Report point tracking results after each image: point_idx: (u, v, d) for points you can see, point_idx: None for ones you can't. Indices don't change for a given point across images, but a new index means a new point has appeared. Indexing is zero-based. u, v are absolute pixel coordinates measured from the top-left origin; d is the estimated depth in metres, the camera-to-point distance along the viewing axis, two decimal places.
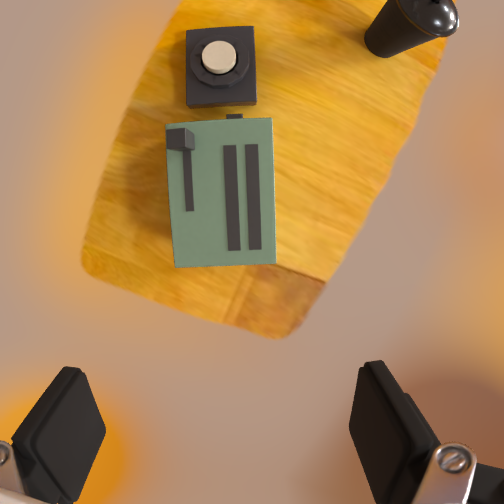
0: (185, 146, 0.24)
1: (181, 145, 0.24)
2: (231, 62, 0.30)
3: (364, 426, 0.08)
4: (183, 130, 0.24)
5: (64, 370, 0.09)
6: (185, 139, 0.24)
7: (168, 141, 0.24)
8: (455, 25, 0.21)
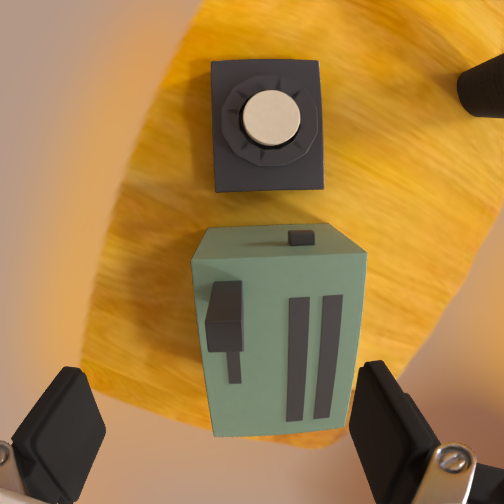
0: (242, 350, 0.14)
1: (235, 349, 0.14)
2: (293, 132, 0.19)
3: (364, 426, 0.08)
4: (238, 325, 0.13)
5: (64, 370, 0.09)
6: (242, 339, 0.14)
7: (210, 341, 0.13)
8: None
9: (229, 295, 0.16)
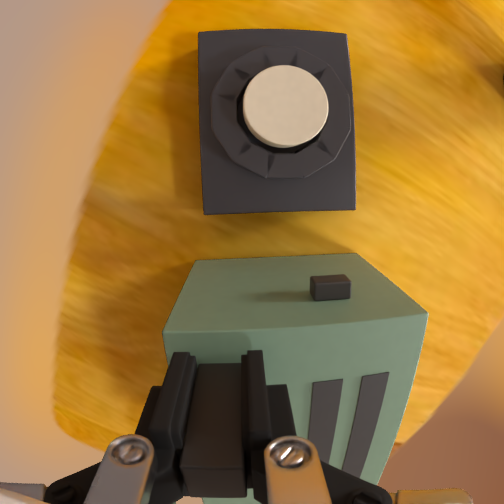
0: (244, 495, 0.07)
1: (233, 496, 0.07)
2: (319, 127, 0.13)
3: None
4: (237, 473, 0.06)
5: (176, 355, 0.10)
6: (244, 485, 0.07)
7: (191, 487, 0.07)
8: None
9: (221, 401, 0.09)
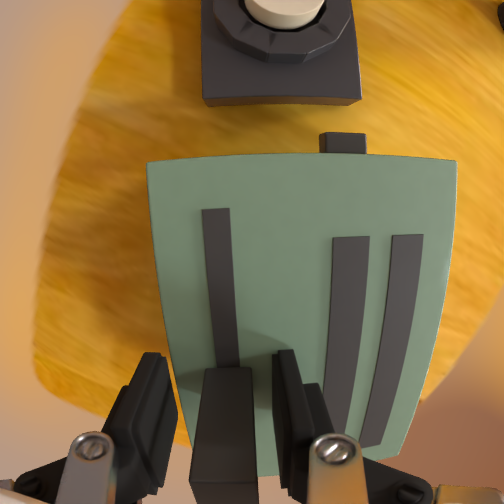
0: None
1: None
2: (319, 2, 0.10)
3: (275, 411, 0.10)
4: (250, 487, 0.06)
5: (146, 355, 0.10)
6: (256, 498, 0.06)
7: (201, 500, 0.06)
8: None
9: (231, 409, 0.08)
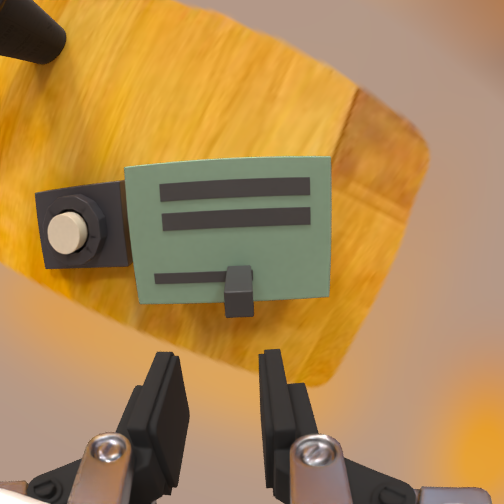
0: (251, 291, 0.18)
1: (250, 297, 0.18)
2: (70, 218, 0.25)
3: (261, 411, 0.10)
4: (228, 294, 0.18)
5: (159, 355, 0.10)
6: (241, 291, 0.18)
7: (243, 314, 0.18)
8: None
9: None
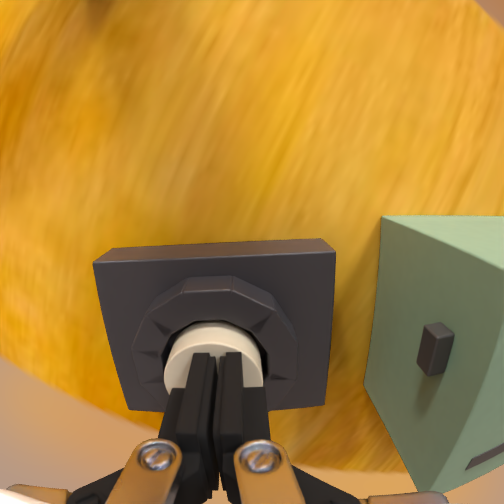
0: None
1: None
2: None
3: None
4: None
5: (196, 356, 0.10)
6: None
7: None
8: None
9: None
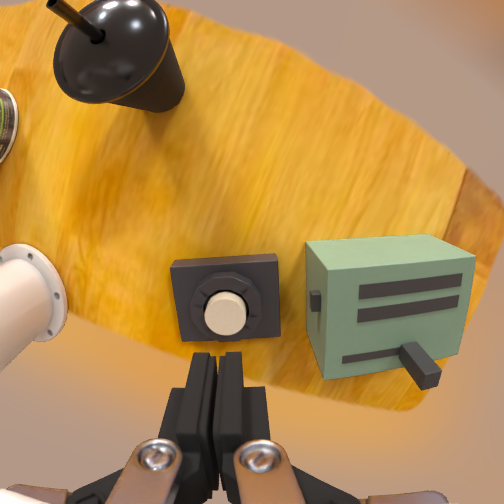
0: (441, 370, 0.20)
1: (439, 374, 0.20)
2: (235, 303, 0.27)
3: None
4: (427, 376, 0.20)
5: (196, 356, 0.10)
6: (435, 372, 0.20)
7: (432, 386, 0.20)
8: None
9: (410, 363, 0.23)
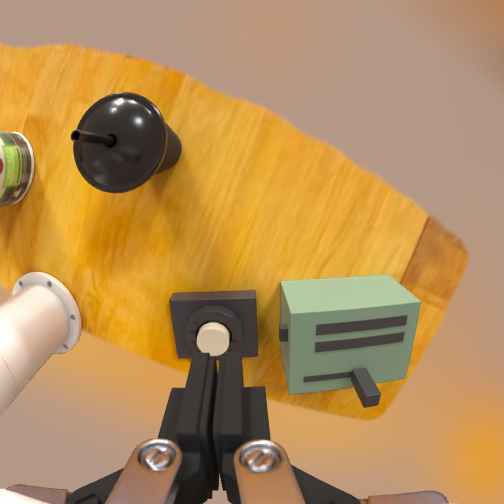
0: (380, 393, 0.27)
1: (379, 396, 0.27)
2: (220, 332, 0.34)
3: None
4: (368, 397, 0.27)
5: (196, 356, 0.10)
6: (375, 394, 0.27)
7: (373, 405, 0.28)
8: (138, 100, 0.20)
9: (357, 385, 0.30)
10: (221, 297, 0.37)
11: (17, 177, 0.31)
